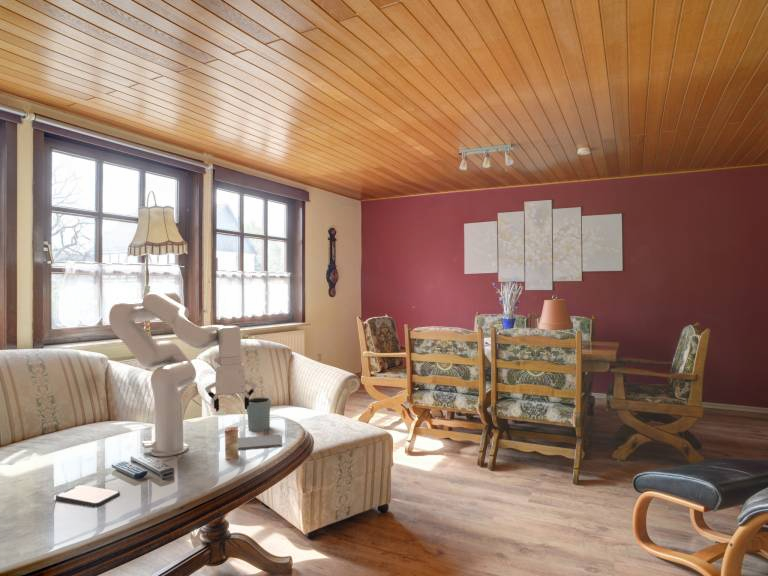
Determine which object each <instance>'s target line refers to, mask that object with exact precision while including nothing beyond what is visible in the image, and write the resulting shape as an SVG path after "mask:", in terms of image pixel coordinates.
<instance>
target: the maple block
mask: <svg viewBox="0 0 768 576" xmlns="http://www.w3.org/2000/svg"><path fill="white" fill-rule="evenodd" d="M238 438H239V426H229V427H225V429H224V443H225V444H224V446H225V447H224V448H225V449H224V452H225V453H224V454H225V460H232V459H231V458H236V459H238V458H239V450H238Z"/></svg>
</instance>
